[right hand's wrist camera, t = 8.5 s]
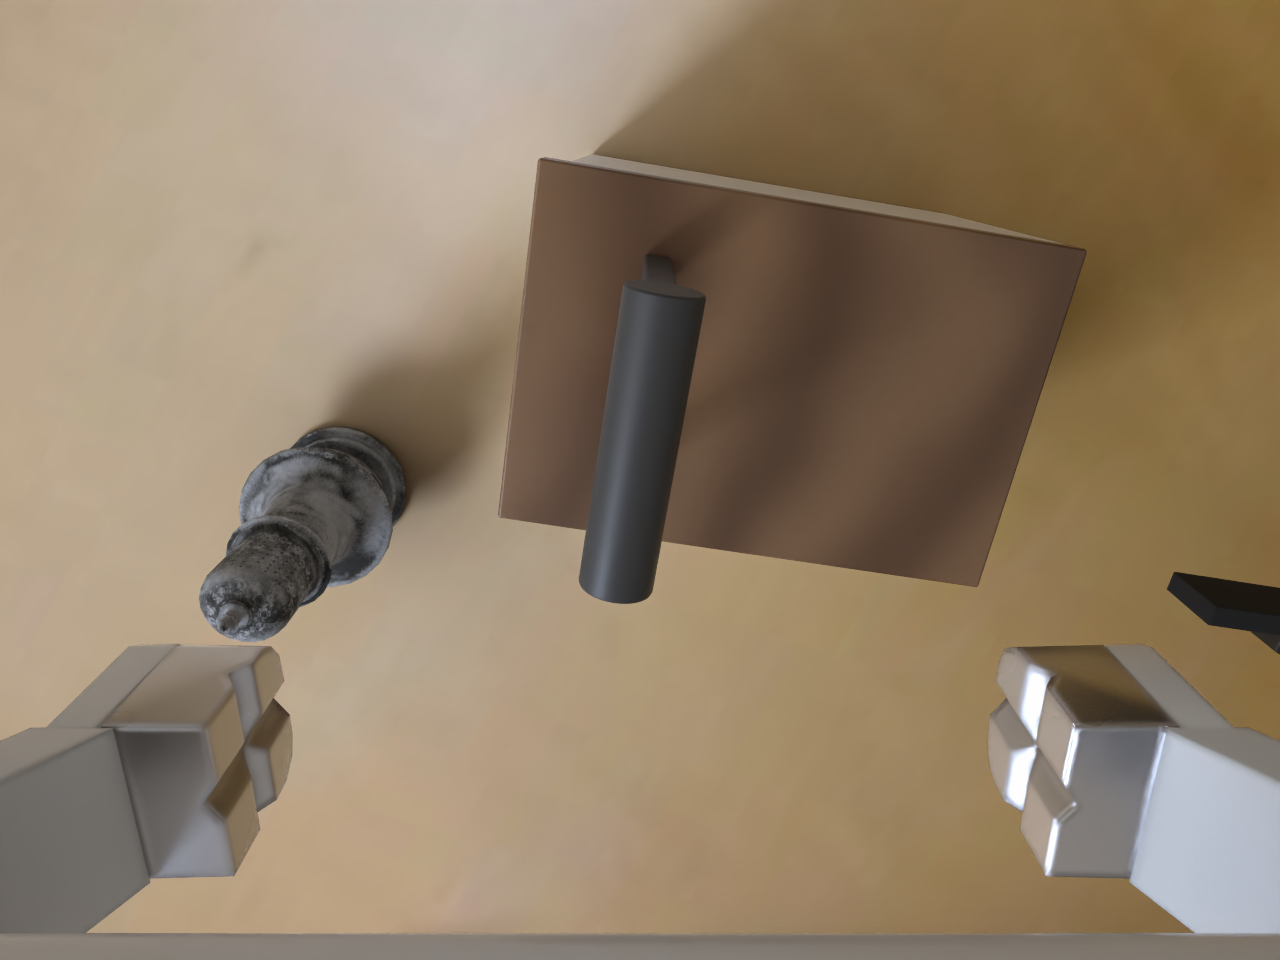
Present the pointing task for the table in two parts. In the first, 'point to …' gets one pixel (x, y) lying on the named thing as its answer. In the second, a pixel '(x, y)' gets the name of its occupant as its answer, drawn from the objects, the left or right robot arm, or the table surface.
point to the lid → (771, 377)
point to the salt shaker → (304, 530)
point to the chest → (794, 193)
